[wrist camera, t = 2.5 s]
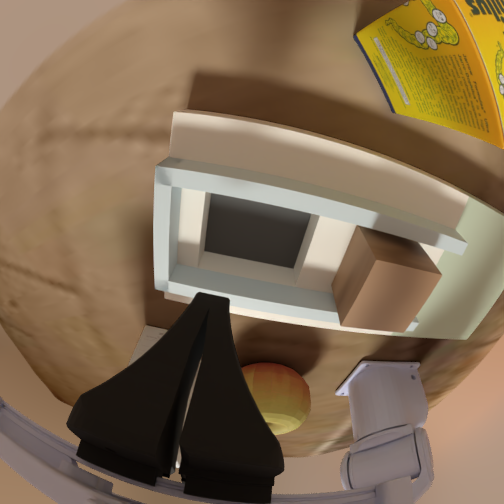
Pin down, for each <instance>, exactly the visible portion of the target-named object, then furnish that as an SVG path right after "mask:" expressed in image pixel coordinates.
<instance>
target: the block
mask: <svg viewBox="0 0 504 504" xmlns="http://www.w3.org/2000/svg"><path fill="white" fill-rule="evenodd" d="M441 277H442V274H441V272H440V271H439V269H438V268H437V267H436V265H435V264H434V262H433V261H432V260H431V258H430V257H429V256H428V254H427V253H426V252H425V250H424V249H423V248H422V246H421V245H420V244H419V243H418V242H417V241H413V240H410V239H407V238H403V237H400V236H396V235H393V234H389V233H385V232H382V231H378V230H375V229H371V228H367V227H363V226H359V225H356V228H355V230H354V233H353V235H352V238H351V240H350V243H349V245H348V247H347V250H346V252H345V254H344V257H343V259H342V261H341V264H340V266H339V268H338V271H337V273H336V275H335V277H334V280H333V282H332V284H331V287H332V291H333V295H334V299H335V304H336V308H337V312H338V317H339V321H340V326H343V327H351V328H360V329H369V330H378V331H388V332H399V333H404V332H405V331H406V329H407V328H408V326H409V325H410V324H411V322H412V321H413V320H414V318H415V317H416V315H417V314H418V312H419V311H420V310H421V308H422V307H423V305H424V304H425V302H426V301H427V299H428V298H429V296H430V295H431V293H432V291H433V290H434V288H435V287H436V285H437V283H438V282H439V280H440V278H441Z"/></svg>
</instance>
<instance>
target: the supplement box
mask: <svg viewBox="0 0 504 504" xmlns="http://www.w3.org/2000/svg"><path fill="white" fill-rule="evenodd" d="M353 38H354V40H355V41H356V43H357V44H358V46H359V48H360V49H361V51H362V53H363V54H364V56H365V58H366V60H367V62H368V63H369V65H370V67H371V69H372V71H373V73H374V75H375V77H376V79H377V81H378V83H379V85H380V87H381V89H382V91H383V93H384V95H385V98H386V100H387V102H388V103H389V106H390V108H391V111H392V112H393V113H397V114H401V115H405V116H410V117H413V118H417V119H421V120H424V121H428V122H432V123H435V124H438V125H442V126H445V127H448V128H451V129H454V130H457V131H460V132H462V133H465V134H468V135H470V136H473V137H476V138H478V139H481V140H483V141H485V142H488V143H490V144H493V145H495V146H497V147H499V148H501V149H503V150H504V0H409V1H408V2H406V3H404V4H402V5H401V6H399V7H397V8H395V9H394V10H392V11H390V12H388V13H387V14H385V15H384V16H382V17H380V18H379V19H377V20H376V21H374V22H372V23H371V24H369V25H368V26H366V27H365V28H363V29H362V30H360V31H359V32H358V33H356V34H355V35H354V37H353Z"/></svg>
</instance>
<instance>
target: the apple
mask: <svg viewBox="0 0 504 504" xmlns="http://www.w3.org/2000/svg"><path fill="white" fill-rule="evenodd" d="M241 369H242V372H243V375H244V378H245V380H246V383H247V385H248V388H249V390H250V392H251V394H252V396H253V398H254V400H255V402H256V404H257V407H258V409H259V411H260V412H261V414H262V416H263V418H264V419H265V421H266V423H267V424H268V426H269V428H270V429H271V431H272V432H273V434H274V435H278V434H284V433H287V432H290V431H292V430H295V429H297V428H298V427H299V426H300V425H301V424H302V423H303V422H304V421H305V420H306V418H307V416H308V414H309V412H310V406H311V400H310V391H309V386H308V385H307V383H306V382H305V380H304V379H303V378H302V377H301V376H300V375H299V374H298V373H297V372H296V371H294V370H293V369H291V368H289V367H286V366H284V365H281V364H276V363H255V364H250V365H247V366H245V367H243V368H241Z"/></svg>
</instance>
